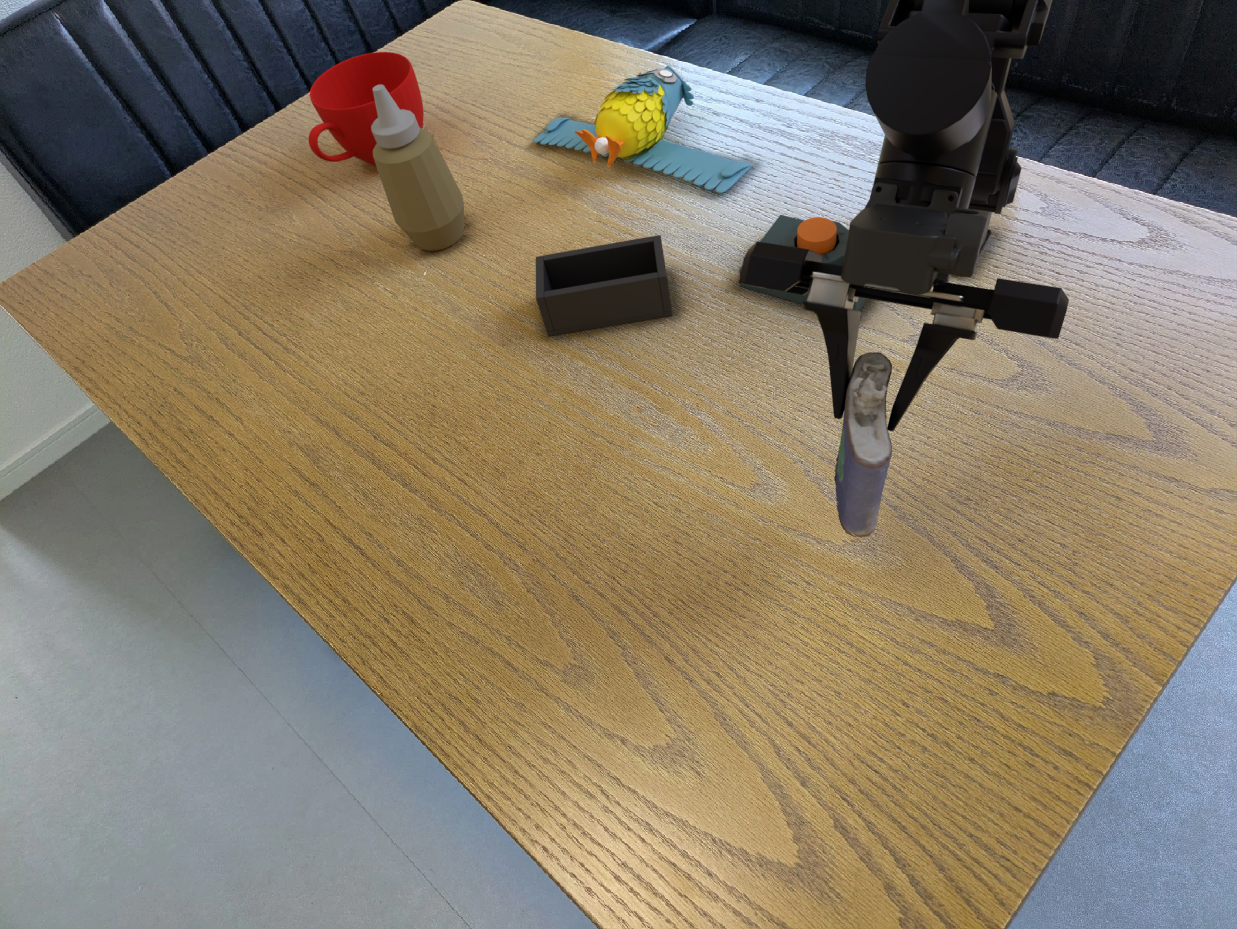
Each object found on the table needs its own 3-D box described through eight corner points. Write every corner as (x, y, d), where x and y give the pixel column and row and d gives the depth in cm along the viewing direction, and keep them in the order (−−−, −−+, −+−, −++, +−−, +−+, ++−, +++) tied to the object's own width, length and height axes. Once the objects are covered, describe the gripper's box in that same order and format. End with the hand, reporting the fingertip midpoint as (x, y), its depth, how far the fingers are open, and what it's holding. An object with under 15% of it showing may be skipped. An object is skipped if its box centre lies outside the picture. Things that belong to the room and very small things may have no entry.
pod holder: (666, 274, 84) (660, 234, 80) (672, 315, 80) (666, 275, 76) (547, 294, 85) (535, 256, 81) (548, 336, 82) (535, 298, 77)
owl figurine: (495, 93, 94) (573, 31, 101) (513, 160, 101) (585, 98, 107) (701, 143, 81) (775, 68, 88) (707, 216, 88) (775, 141, 95)
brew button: (842, 236, 78) (843, 221, 76) (826, 260, 76) (826, 245, 75) (807, 228, 79) (807, 213, 78) (790, 251, 78) (790, 236, 76)
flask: (877, 541, 55) (897, 446, 46) (832, 537, 56) (843, 443, 47) (877, 432, 60) (895, 328, 51) (836, 430, 61) (847, 327, 52)
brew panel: (892, 259, 80) (896, 226, 77) (854, 319, 76) (857, 287, 73) (780, 231, 85) (780, 199, 82) (739, 286, 81) (737, 254, 78)
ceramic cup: (304, 189, 105) (264, 118, 97) (388, 117, 113) (357, 45, 105) (375, 210, 100) (340, 136, 92) (459, 133, 107) (432, 58, 99)
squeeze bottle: (394, 254, 94) (323, 108, 80) (428, 210, 98) (366, 63, 84) (453, 262, 91) (391, 113, 77) (485, 217, 95) (432, 67, 81)
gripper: (741, 127, 45) (688, 401, 49) (1119, 165, 38) (1024, 481, 42) (786, 164, 55) (739, 390, 59) (1091, 200, 48) (1017, 453, 52)
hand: (863, 424), depth 53 cm, fingers closed on flask, 3 cm apart
